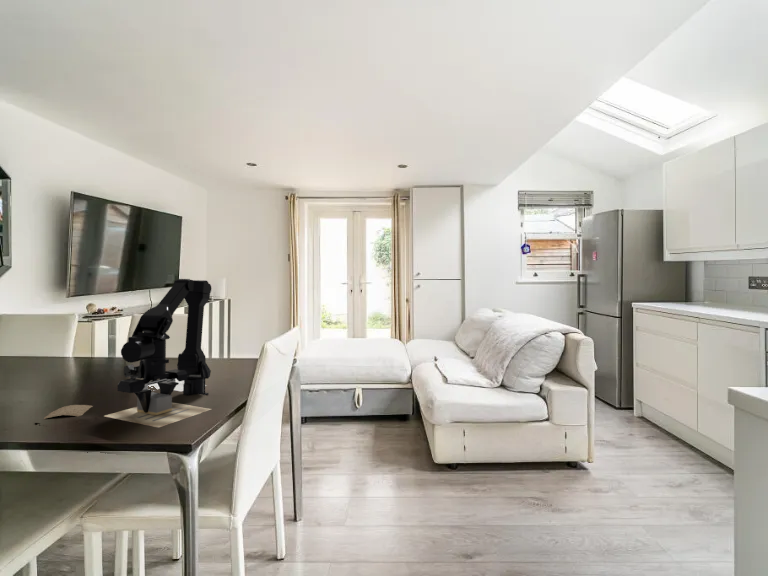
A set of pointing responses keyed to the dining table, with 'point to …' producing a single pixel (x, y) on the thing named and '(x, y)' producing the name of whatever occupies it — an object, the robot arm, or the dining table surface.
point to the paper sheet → (177, 388)
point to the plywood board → (158, 420)
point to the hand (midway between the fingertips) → (154, 409)
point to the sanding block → (157, 404)
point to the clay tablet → (70, 411)
